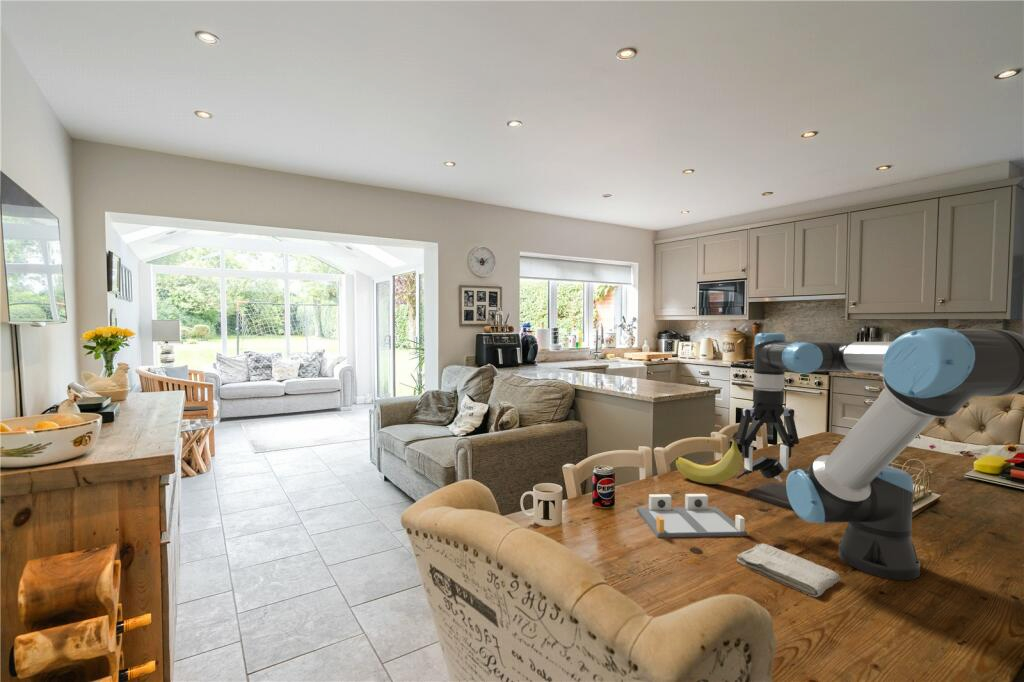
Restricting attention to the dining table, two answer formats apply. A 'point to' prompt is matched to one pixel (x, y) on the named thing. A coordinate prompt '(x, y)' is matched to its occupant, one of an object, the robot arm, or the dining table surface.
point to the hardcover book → (771, 495)
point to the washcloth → (788, 569)
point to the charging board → (689, 518)
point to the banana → (713, 467)
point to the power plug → (766, 467)
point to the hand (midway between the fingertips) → (766, 469)
